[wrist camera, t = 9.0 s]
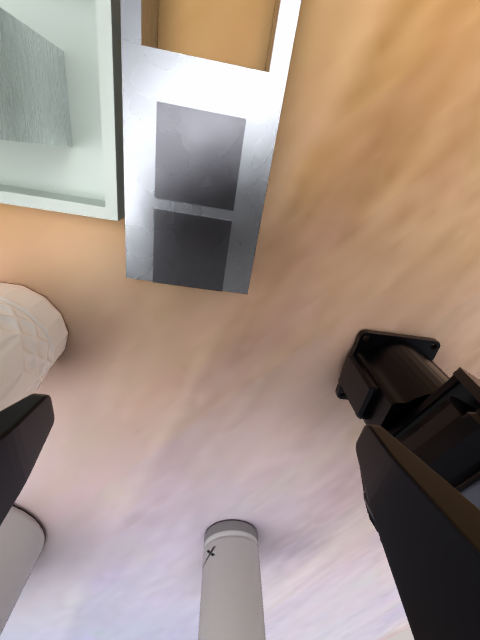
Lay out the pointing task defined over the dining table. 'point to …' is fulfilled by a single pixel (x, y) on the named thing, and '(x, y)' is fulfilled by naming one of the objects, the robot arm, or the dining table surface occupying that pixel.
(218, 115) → the rail
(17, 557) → the cylinder vase
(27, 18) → the parts tray
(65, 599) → the dining table surface
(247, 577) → the travel mug
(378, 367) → the robot arm
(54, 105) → the brushed aluminium bar
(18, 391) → the white cup
